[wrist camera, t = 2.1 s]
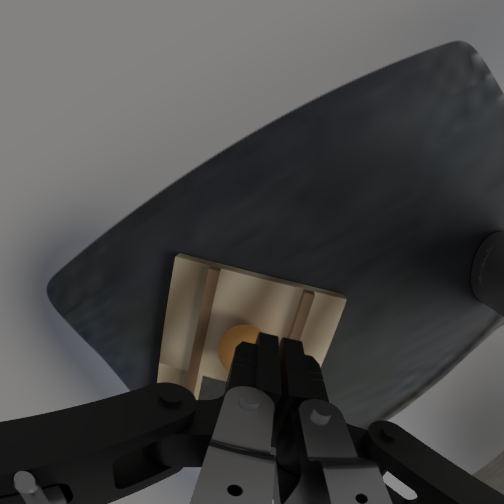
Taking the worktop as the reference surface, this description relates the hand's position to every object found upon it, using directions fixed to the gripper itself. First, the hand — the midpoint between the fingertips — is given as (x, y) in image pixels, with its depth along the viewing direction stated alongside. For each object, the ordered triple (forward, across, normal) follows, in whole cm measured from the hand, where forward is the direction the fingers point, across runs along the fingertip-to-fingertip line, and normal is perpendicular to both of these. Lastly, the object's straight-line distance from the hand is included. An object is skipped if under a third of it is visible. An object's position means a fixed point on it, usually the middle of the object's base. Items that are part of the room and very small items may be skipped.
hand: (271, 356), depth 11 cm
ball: (+15, 0, +9) cm, 17 cm away
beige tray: (+19, 0, +14) cm, 23 cm away
